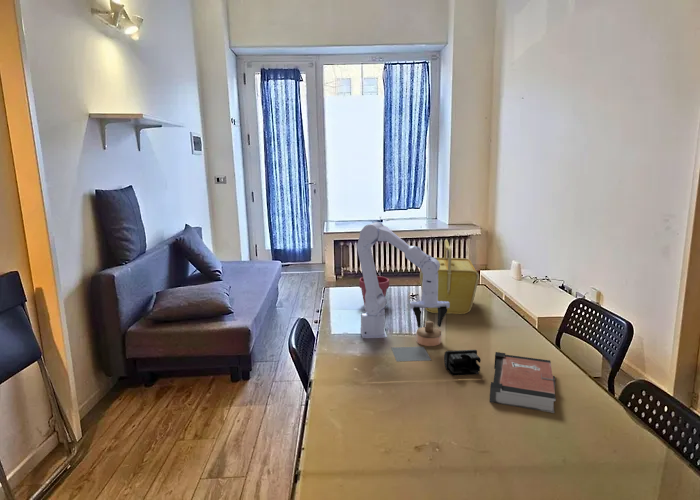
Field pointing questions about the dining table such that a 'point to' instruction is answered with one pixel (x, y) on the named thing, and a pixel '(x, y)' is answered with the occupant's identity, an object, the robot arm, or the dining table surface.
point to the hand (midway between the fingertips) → (429, 326)
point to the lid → (429, 331)
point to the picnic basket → (455, 283)
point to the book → (523, 383)
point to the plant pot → (382, 284)
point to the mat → (410, 354)
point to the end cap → (462, 362)
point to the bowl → (428, 340)
